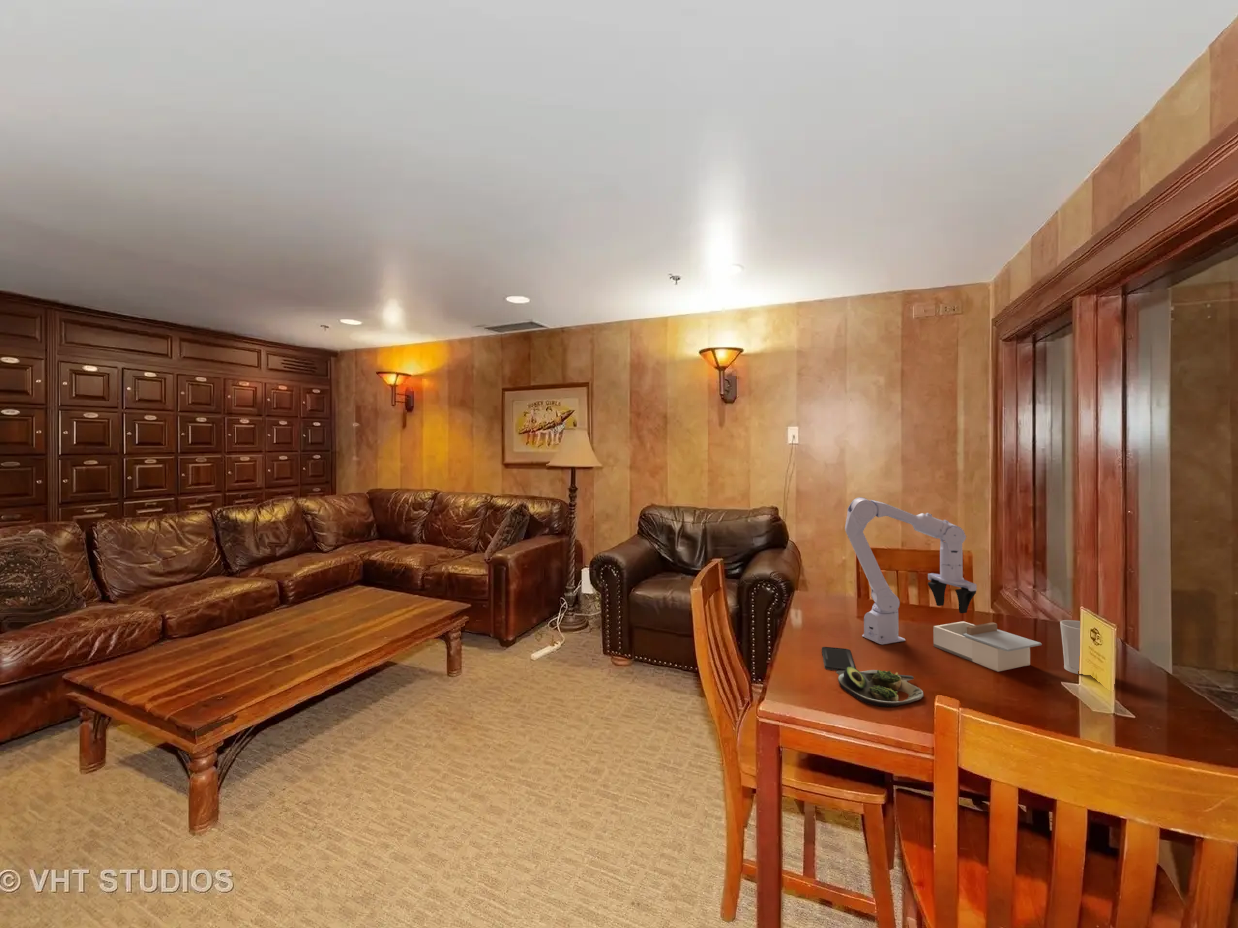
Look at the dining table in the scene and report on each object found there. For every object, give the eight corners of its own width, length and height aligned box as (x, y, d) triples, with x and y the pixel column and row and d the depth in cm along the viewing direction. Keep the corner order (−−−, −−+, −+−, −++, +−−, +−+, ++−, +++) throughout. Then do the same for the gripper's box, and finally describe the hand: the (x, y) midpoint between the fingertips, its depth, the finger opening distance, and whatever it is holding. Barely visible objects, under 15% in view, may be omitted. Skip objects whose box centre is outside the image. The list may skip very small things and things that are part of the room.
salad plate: (889, 670, 139) (889, 653, 139) (945, 701, 122) (945, 682, 121) (825, 679, 135) (825, 661, 134) (873, 712, 117) (873, 692, 117)
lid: (1007, 651, 133) (1007, 641, 133) (962, 635, 145) (962, 626, 145) (1041, 644, 137) (1041, 635, 137) (994, 629, 149) (994, 621, 149)
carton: (997, 671, 136) (997, 648, 136) (933, 646, 154) (933, 626, 154) (1030, 664, 140) (1030, 642, 140) (963, 640, 158) (963, 621, 158)
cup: (1093, 667, 137) (1093, 622, 137) (1106, 679, 130) (1106, 631, 130) (1055, 662, 141) (1055, 618, 141) (1066, 674, 134) (1066, 627, 133)
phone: (850, 649, 152) (856, 669, 137) (850, 652, 152) (856, 673, 137) (821, 646, 154) (824, 666, 140) (821, 650, 154) (824, 670, 140)
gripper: (984, 567, 150) (984, 614, 150) (940, 558, 164) (940, 601, 164) (966, 570, 148) (966, 617, 148) (922, 560, 162) (922, 603, 162)
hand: (951, 609), depth 156 cm, fingers open, 7 cm apart
